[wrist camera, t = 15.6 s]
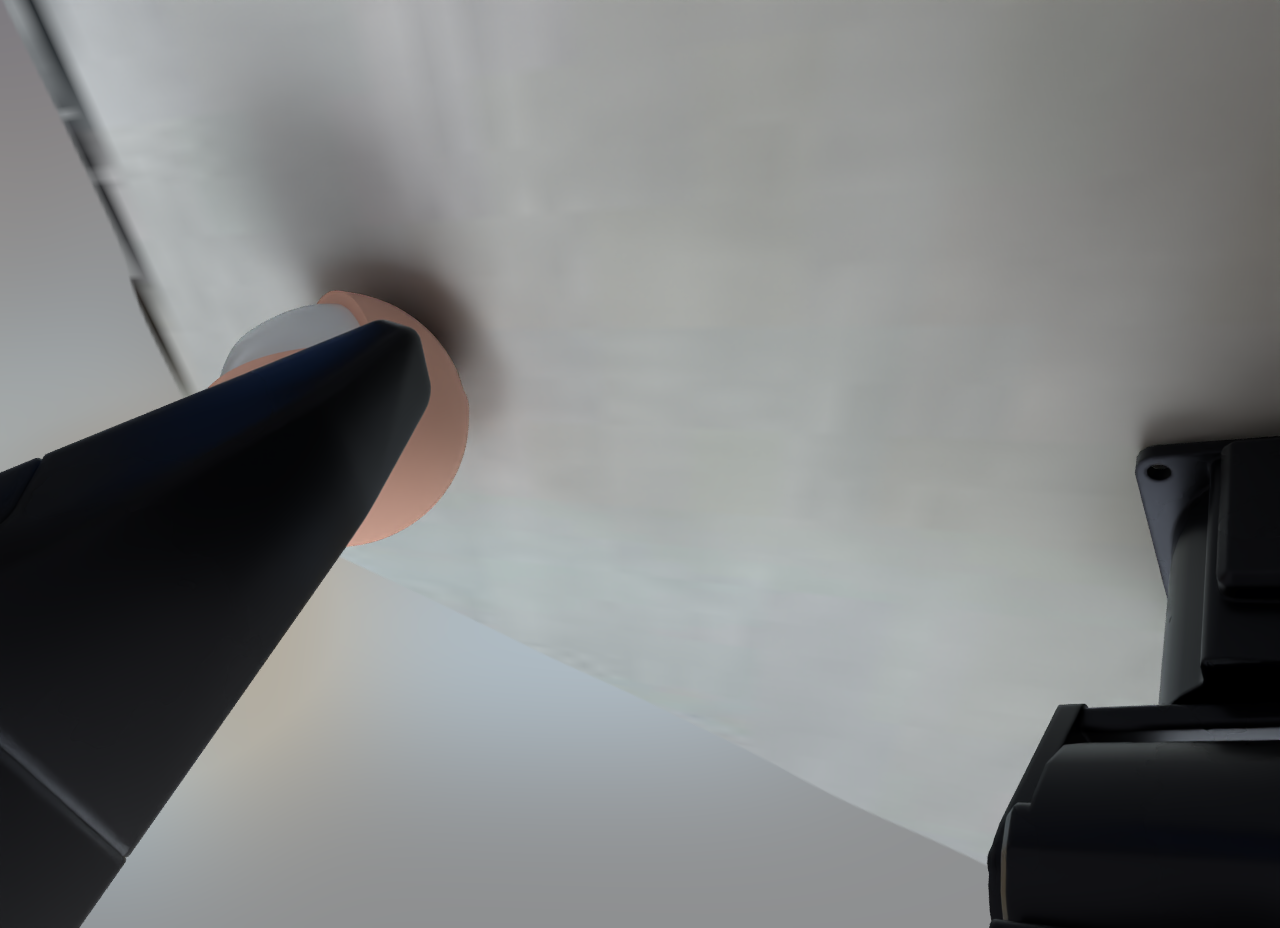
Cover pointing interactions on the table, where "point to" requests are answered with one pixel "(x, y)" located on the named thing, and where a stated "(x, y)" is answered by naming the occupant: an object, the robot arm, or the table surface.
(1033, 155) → the table surface
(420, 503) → the toy ball
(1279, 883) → the robot arm
